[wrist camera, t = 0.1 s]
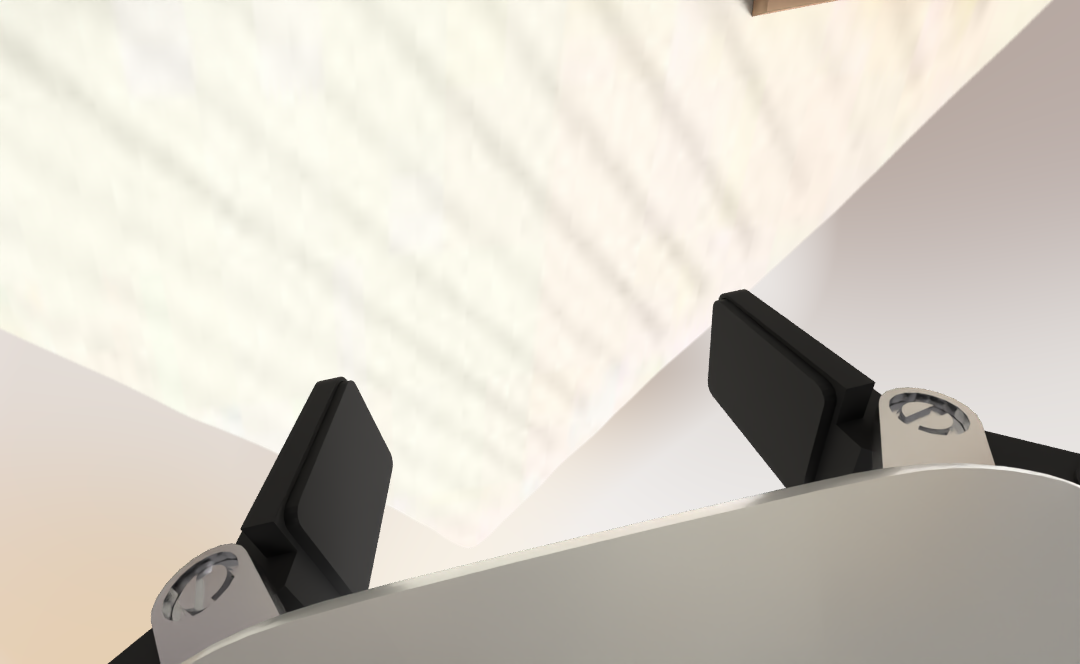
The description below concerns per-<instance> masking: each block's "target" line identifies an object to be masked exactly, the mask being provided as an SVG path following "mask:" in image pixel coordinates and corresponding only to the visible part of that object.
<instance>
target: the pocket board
mask: <svg viewBox="0 0 1080 664" xmlns="http://www.w3.org/2000/svg"><path fill="white" fill-rule="evenodd" d="M831 1H837V0H754V1H753V12H752V16H757V15H763V14H768V13H773V12H778V11H784V10H789V9H794V8H800V7H805V6H810V5H816V4H821V3H826V2H831Z"/></svg>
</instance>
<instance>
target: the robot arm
mask: <svg viewBox="0 0 1080 664" xmlns="http://www.w3.org/2000/svg"><path fill="white" fill-rule="evenodd" d="M874 384H875V382H874V381H873V380H871V379H870V378H868V377H867V376H866V375H864V374H863V373H862V372H860V371H859V370H857V369H856V368H854V367H853V366H852V365H850V364H849V363H848V362H846V361H845V360H843V359H842V358H841V357H839V356H838V355H837V354H835V353H834V352H832V351H831V350H830V349H828V348H826V347H825V346H824V345H823V344H821V343H820V342H819V341H817V340H816V339H814V338H813V337H812V336H810V335H809V334H807V333H806V332H805V331H803V330H802V329H800V328H799V327H798V326H796V325H795V324H794V323H792V322H791V321H789V320H788V319H787V318H785V317H784V316H782V315H781V314H779V313H778V312H777V311H775V310H774V309H773V308H771V307H770V306H768V305H767V304H766V303H764V302H763V301H761V300H760V299H759V298H757V297H756V296H754V295H753V294H752V293H750V292H749V291H747V290H745V289H743V290H738V291H733V292H728V293H724V294H722V295H720V297H719V300H718V301H715V302H714V304H713V314H712V328H711V343H710V358H709V372H708V387H709V390H710V392H711V394H712V396H713V397H714V398H715V399H716V401H717V402H718V403H719V404H720V406H721V407H722V408H723V409H724V410H725V412H726V413H727V414H728V416H729V417H730V418H731V419H732V421H733V422H734V423H735V424H736V426H737V427H738V428H739V429H740V431H741V432H742V433H743V435H744V436H745V437H746V438H747V439H748V441H749V442H750V443H751V445H752V446H753V447H754V448H755V450H756V451H757V452H758V453H759V455H760V456H761V457H762V458H763V460H764V461H765V462H766V463H767V465H768V466H769V467H770V468H771V470H772V471H773V472H774V473H775V474H776V476H777V477H778V478H779V480H780V481H781V482H782V483H783V485H784V486H785V487H786V488H784V489H780V490H775V491H771V492H768V493H763V494H759V495H754V496H750V497H746V498H742V499H737V500H733V501H729V502H724V503H720V504H716V505H712V506H707V507H703V508H699V509H695V510H690V511H686V512H682V513H678V514H673V515H669V516H665V517H661V518H657V519H652V520H649V521H644V522H640V523H636V524H631V525H627V526H623V527H619V528H615V529H611V530H607V531H602V532H598V533H595V534H590V535H586V536H582V537H577V538H573V539H569V540H565V541H561V542H557V543H553V544H548V545H544V546H540V547H536V548H532V549H528V550H524V551H520V552H515V553H512V554H508V555H503V556H499V557H495V558H491V559H487V560H483V561H479V562H475V563H471V564H467V565H463V566H459V567H455V568H451V569H447V570H443V571H438V572H434V573H430V574H426V575H422V576H418V577H414V578H410V579H406V580H402V581H398V582H394V583H391V584H387V585H383V586H379V587H376V588H372V589H368V587H369V583H370V578H371V573H372V568H373V563H374V558H375V553H376V548H377V543H378V538H379V533H380V528H381V523H382V518H383V513H384V508H385V503H386V498H387V493H388V488H389V483H390V478H391V473H392V468H393V461H392V456H391V453H390V451H389V449H388V447H387V445H386V443H385V441H384V440H383V438H382V436H381V434H380V432H379V430H378V428H377V426H376V424H375V422H374V420H373V418H372V416H371V414H370V412H369V410H368V408H367V406H366V404H365V402H364V400H363V398H362V396H361V394H360V392H359V390H358V388H357V386H356V384H355V383H354V382H353V381H351V380H350V381H347V380H346V379H345V378H344V377H337V378H333V379H328V380H323V381H319V382H317V383H316V384H315V386H314V388H313V390H312V392H311V394H310V396H309V398H308V400H307V402H306V404H305V405H304V407H303V409H302V411H301V413H300V415H299V417H298V419H297V421H296V423H295V425H294V427H293V429H292V430H291V432H290V434H289V436H288V438H287V440H286V442H285V444H284V446H283V448H282V450H281V452H280V454H279V455H278V458H277V460H276V461H275V463H274V465H273V467H272V469H271V471H270V473H269V475H268V477H267V479H266V481H265V482H264V485H263V487H262V488H261V490H260V492H259V494H258V496H257V498H256V500H255V502H254V504H253V506H252V508H251V509H250V511H249V513H248V515H247V517H246V519H245V521H244V523H243V525H242V527H241V530H242V533H241V535H240V536H239V538H238V541H237V542H236V544H225V545H220V546H217V547H215V548H212V549H210V550H207V551H205V552H204V553H202V554H200V555H199V556H197V557H195V558H194V559H192V560H191V561H190V562H189V563H187V564H186V565H185V566H184V567H183V568H181V569H180V570H179V571H178V572H177V573H176V574H175V575H174V576H173V577H172V578H171V579H170V580H169V581H168V582H167V583H166V585H165V586H164V588H163V589H162V591H161V592H160V594H159V595H158V597H157V599H156V601H155V603H154V606H153V608H152V613H151V624H152V629H150V630H149V631H148V632H146V633H145V634H144V635H143V636H141V637H140V638H139V639H138V640H137V641H135V642H134V643H133V644H132V645H130V646H129V647H128V648H127V649H125V650H124V651H123V652H122V653H121V654H119V655H118V656H117V657H116V658H114V659H113V660H112V661H111V662H109V663H108V664H1080V454H1079V453H1074V452H1070V451H1066V450H1062V449H1058V448H1053V447H1050V446H1046V445H1041V444H1037V443H1033V442H1029V441H1025V440H1021V439H1017V438H1012V437H1008V436H1004V435H1000V434H996V433H992V432H987V431H984V428H983V426H982V423H981V421H980V419H979V418H978V416H977V415H976V414H975V413H974V412H973V411H972V410H971V409H970V408H968V407H967V406H966V405H964V404H962V403H961V402H959V401H957V400H955V399H954V398H951V397H948V396H946V395H943V394H941V393H938V392H934V391H930V390H926V389H919V388H909V387H907V388H896V389H892V390H889V391H886V392H885V393H884V394H883V395H881V394H880V393H878V392H877V391H875V390H874V389H873V387H874Z"/></svg>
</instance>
